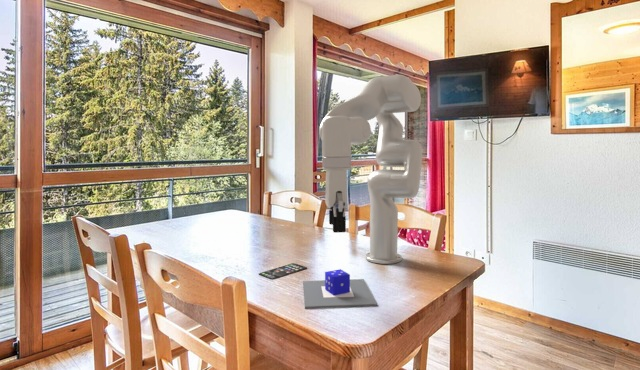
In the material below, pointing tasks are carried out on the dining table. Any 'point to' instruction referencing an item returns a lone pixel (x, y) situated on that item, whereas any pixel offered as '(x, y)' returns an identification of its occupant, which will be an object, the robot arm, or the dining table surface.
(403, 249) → the dining table surface
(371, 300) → the mat
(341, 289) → the die
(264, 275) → the smartphone
